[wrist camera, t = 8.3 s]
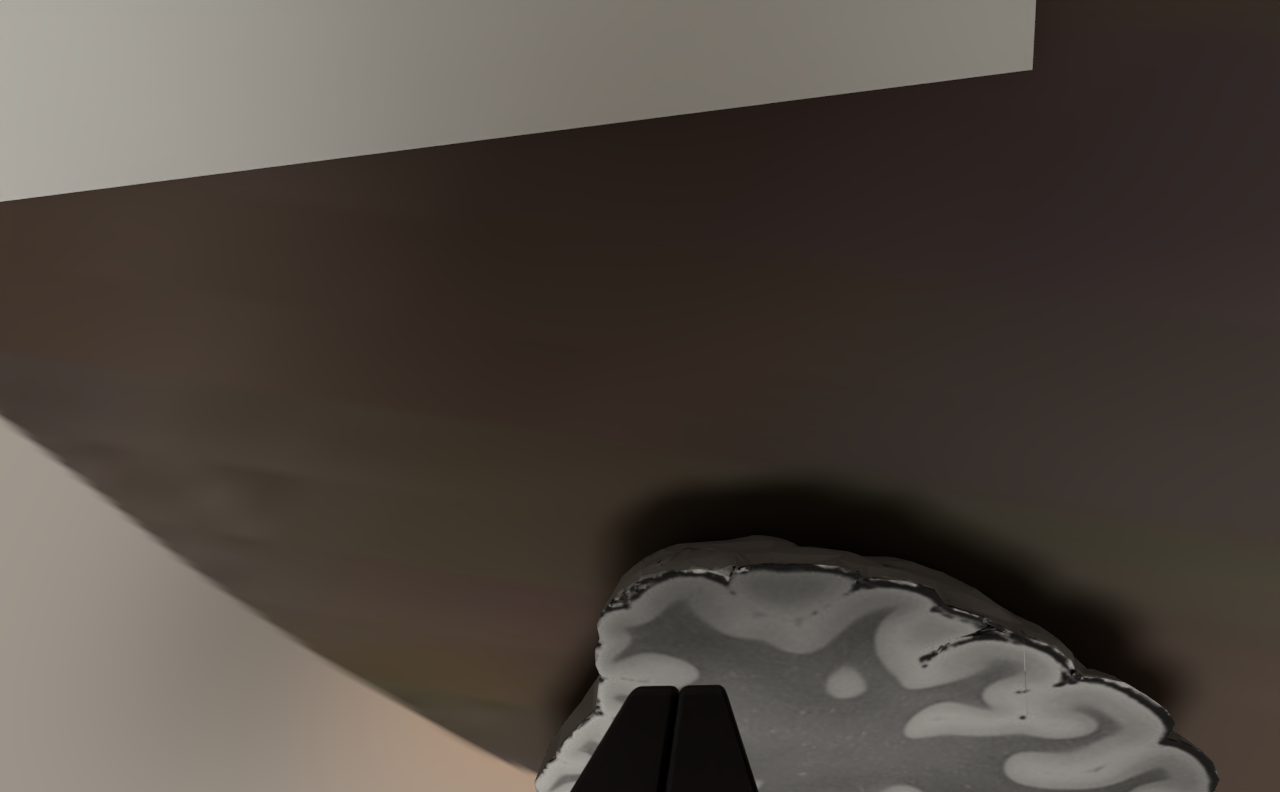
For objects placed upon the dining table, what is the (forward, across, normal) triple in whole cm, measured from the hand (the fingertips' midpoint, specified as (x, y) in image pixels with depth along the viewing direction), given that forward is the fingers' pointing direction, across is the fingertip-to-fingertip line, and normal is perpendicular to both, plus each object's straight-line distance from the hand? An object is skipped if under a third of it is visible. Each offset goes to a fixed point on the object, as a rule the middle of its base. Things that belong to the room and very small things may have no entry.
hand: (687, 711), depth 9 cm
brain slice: (+12, -1, +18) cm, 22 cm away
